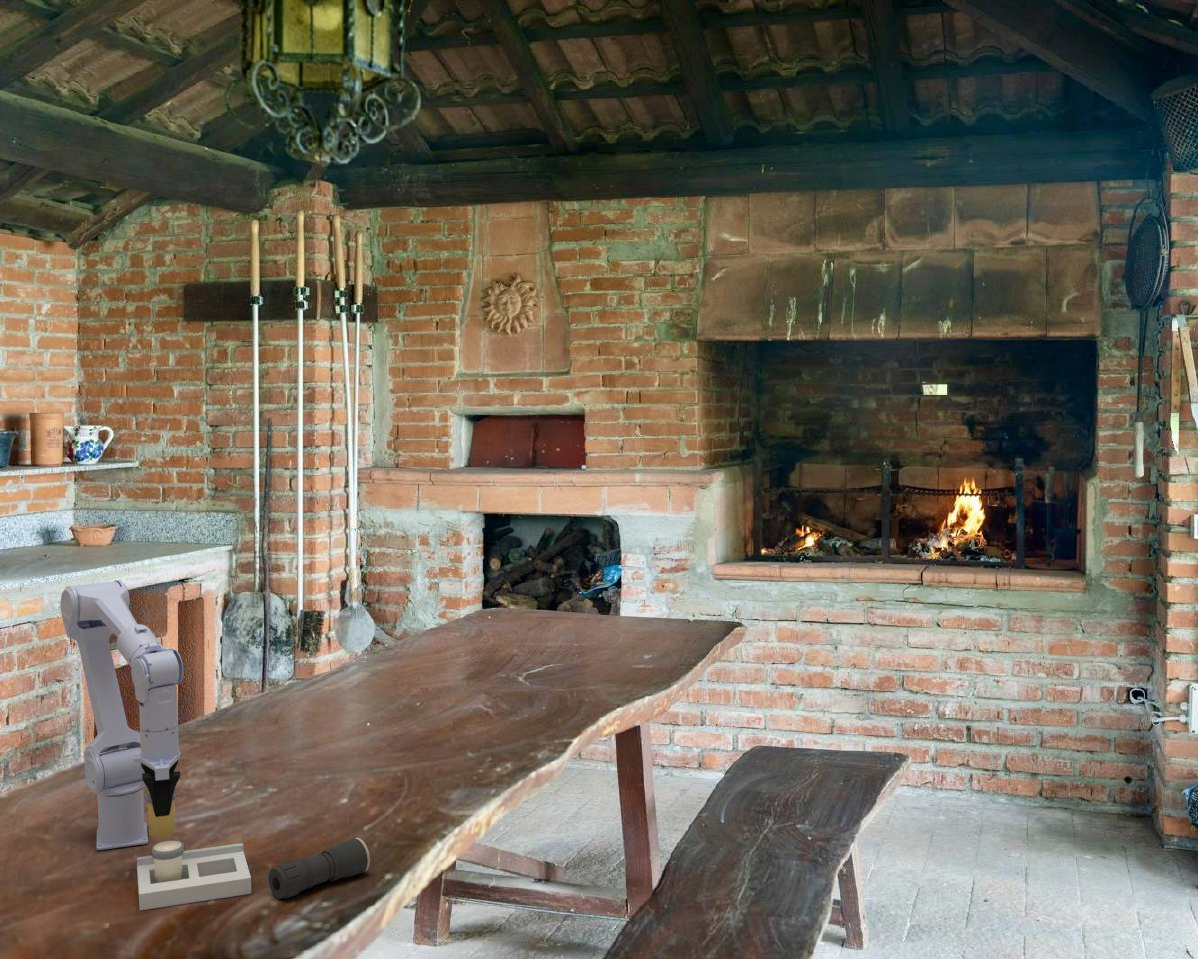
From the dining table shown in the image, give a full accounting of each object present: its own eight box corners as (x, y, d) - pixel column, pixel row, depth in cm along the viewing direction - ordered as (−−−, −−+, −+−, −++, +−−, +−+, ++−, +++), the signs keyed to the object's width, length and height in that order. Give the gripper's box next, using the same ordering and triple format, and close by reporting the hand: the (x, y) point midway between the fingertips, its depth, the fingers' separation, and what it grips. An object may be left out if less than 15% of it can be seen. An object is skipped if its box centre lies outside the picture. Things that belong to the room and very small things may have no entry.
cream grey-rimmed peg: (153, 886, 191) (151, 842, 191) (184, 881, 193) (183, 838, 192) (153, 898, 187) (151, 853, 186) (185, 893, 189) (183, 849, 188)
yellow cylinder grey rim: (146, 829, 199) (145, 787, 198) (176, 825, 201) (175, 783, 200) (147, 840, 195) (146, 797, 194) (178, 836, 196) (177, 793, 196)
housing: (137, 879, 194) (136, 857, 193) (243, 864, 200) (242, 843, 199) (139, 910, 183) (138, 887, 182) (251, 893, 189) (250, 871, 188)
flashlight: (284, 906, 185) (283, 871, 184) (265, 895, 189) (264, 861, 188) (370, 876, 196) (369, 843, 195) (351, 866, 199) (350, 833, 199)
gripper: (131, 717, 201) (133, 798, 202) (133, 742, 188) (136, 829, 189) (176, 712, 204) (179, 792, 205) (182, 737, 190) (184, 823, 192)
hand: (161, 810), depth 197 cm, fingers closed on yellow cylinder grey rim, 4 cm apart
